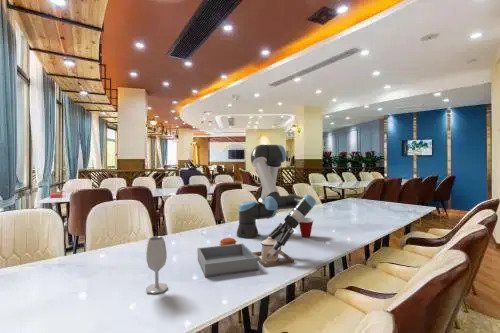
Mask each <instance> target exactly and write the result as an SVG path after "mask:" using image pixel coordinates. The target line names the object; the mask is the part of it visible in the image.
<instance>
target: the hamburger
mask: <svg viewBox="0 0 500 333" xmlns="http://www.w3.org/2000/svg"><path fill="white" fill-rule="evenodd" d="M219 242H220V243H219V244H218V246H223V245H233V244H237V243H238V241H237V240H236V239H235V238H232V237H225V238H222V239H221V240H220V241H219Z"/></svg>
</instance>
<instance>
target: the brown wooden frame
mask: <svg viewBox="0 0 500 333" xmlns="http://www.w3.org/2000/svg"><path fill="white" fill-rule="evenodd" d="M278 250H279V248H278ZM251 252H252V251H251ZM252 253H253V254H254V255H255V256H256V257H257V258H258V263H259V264H261V266H262V267H263V268H265V267H266V268H268V267H274V266H280V265H281V266H282V265H288V264H294V263H295V259H293V258H292V257H291V256H290V255H288V254H286V253H285V252H284V251H283V250H281V251H280V252H279V253H278V255H279V254H280V255H281V256H282V257H283V258H284V260H277V261H274V262H266V261H263V260H262V257H260V256H262V250H261V251H254V252H252Z"/></svg>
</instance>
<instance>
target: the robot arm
mask: <svg viewBox="0 0 500 333" xmlns="http://www.w3.org/2000/svg"><path fill="white" fill-rule="evenodd" d="M286 159H287V153H286V149H285V147H284V146H283V145H281V144H259V145H257V146H255V147H254V148H253V150H252V152H251V153H250V162H251V165H252V167H254V168H255V171H256V173H257V174H256V175H258V179H259V182H260V185H261V186H262V190H261V195H260V197H258V202H256V201H255V200H248V201H246V200H245V201H242V202H241V203H239V205H238V225H237V226H238V227H237V229H236V237H238V238H240V239H241V238H242V239H243V238H244V239H253V238H257V237H258V236H259V231H258V227H257V220H265V219H267V220H268V219H272V218H274V217H275V216H276V215H277V212H278V211H279V210H289V209H290V210H291V211H290V212H289V213H288V214H287V215H286V217H285V218H284V219H283V220H284V223H282V222H280V223H279V224H278V225H277V226H276V227H275V228H274V229H273V230H272V231H271V232H270V233H269V234H268V237H271V238H272V239H273V240H276V238H278V237H279V239H278V240H276V241H277V242H276V243H275V244H274V246H273V247H272V248H271V249H270V250H269V252H268V253H269V254H271V255H272V256H273V254H274V253H275V252H276V251H277V249H279V247H280V246H281V247H285V245H286V244H287V242H288V240H289V239H290V237H291V236H292V235H293V234H294V232H295V230H294V229H296V228H297V227H298V226H299V223H300V222H301V221H302V220H303V219H304V218H306V217H307V215H308V214H309V212H310V211H311V210H312V209H313V208H314V206H315V205H316V204H317V201H316V199H315V198H314V197H313V196H312V195H311V194H309V193H306V194H304V195H303V196H299V195H297V194H294V193H289V194H287V195H280V192H279V190H278V188H277V184H276V183H277V178H278V174H279V173H278V171H279V168H280V167H282V163H284V162H286Z"/></svg>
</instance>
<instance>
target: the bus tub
mask: <svg viewBox="0 0 500 333" xmlns="http://www.w3.org/2000/svg"><path fill="white" fill-rule="evenodd" d="M196 250H197V254H196V255H197V261H198V264H199V265H200V268H201V271H202V273H203V275H204V278H211V277H218V276H226V275H228V276H229V275H235V274H241V273H249V272H254V271H255V272H256V271H259V262H258V258H257V257H256V256H255V255H254V254H253V253H252V251H251V250H250V249H249V248H248V247H247V246H246V245H245V244H244V243H236V244H233V245H223V246H220V245H214V246H206V247H205V246H204V247H198V248H197V249H196Z"/></svg>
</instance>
